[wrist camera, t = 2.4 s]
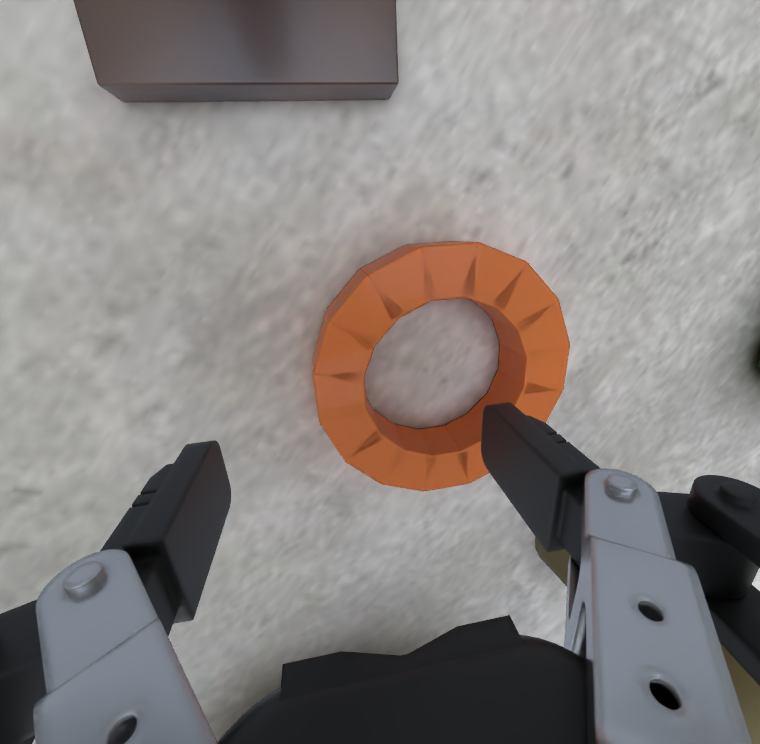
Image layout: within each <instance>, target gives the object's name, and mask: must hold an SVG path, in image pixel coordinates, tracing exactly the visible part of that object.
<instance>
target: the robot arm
mask: <svg viewBox="0 0 760 744" xmlns="http://www.w3.org/2000/svg"><path fill="white" fill-rule="evenodd" d="M481 455H482V459H483V462H484V464H485V466H486V468H487V470H488V471H489V472H490V474H491V475H492V476H493V478H494V479H495V481H496V482H497V483H498V485H499V486H500V488H501V489H502V490H503V492H504V493H505V494H506V496H507V497H508V499H509V500H510V501H511V503H512V504H513V506H514V507H515V508H516V510H517V511H518V513H519V514H520V515H521V517H522V518H523V519H524V521H525V522H526V524H527V525H528V526H529V528H530V529H531V531H532V532H533V533H534V535H535V536H536V537H537V539H538V540H539V542H540V543H541V544H542V546H543V547H544V549H545V550H546V551H547V553H548V552H553V551H558V550H563V549H565V550H566V551H567V552H568V553H569V555H570V558H569V563H568V579H567V603H566V626H565V640H564V647H562V646H559V645H557V644H555V643H552V642H549V641H546V640H543V639H540V638H535V637H530V636H525V635H519V633H518V631H517V629H516V627H515V625H514V623H513V621H512V619H511V617H510V615H508V616H504V617H499V618H494V619H490V620H485V621H481V622H476V623H471V624H467V625H462V626H457V627H456V628H454V629H452V630H450V631H448V632H447V633H445V634H443V635H441V636H439V637H438V638H436V639H434V640H432V641H431V642H429V643H427V644H425V645H423V646H422V647H420V648H418V649H416V650H414V651H413V652H411V653H409V654H407V655H402V656H396V655H383V654H369V653H356V652H343V651H342V652H337V653H333V654H328V655H323V656H319V657H314V658H309V659H305V660H300V661H296V662H291V663H286V664H283V668H282V680H281V688H279V689H277V690H276V691H274V692H272V693H271V694H269V695H268V696H266V697H265V698H263V699H262V700H261V701H259V702H258V703H256V704H255V705H254V706H253V707H252V708H250V709H249V710H248V711H247V712H246V713H245V714H243V715H242V716H241V717H240V718H239V719H238V720H237V721H236V722H235V723H234V724H233V726H232V727H231V728H230V729H229V730H228V731H227V732H226V733H225V734H224V735H223V737H222V738H221V739H220V740H219V742H218V743H217V741H216V739H215V737H214V735H213V733H212V730H211V728H210V726H209V724H208V722H207V720H206V718H205V715H204V713H203V711H202V709H201V707H200V705H199V703H198V700H197V698H196V696H195V694H194V692H193V690H192V688H191V685H190V683H189V681H188V679H187V677H186V675H185V672H184V670H183V668H182V666H181V664H180V662H179V660H178V657H177V655H176V653H175V651H174V649H173V647H172V645H171V642H170V640H169V638H168V636H169V633H170V630H171V628H172V625H173V624H174V623H179V622H184V621H190V620H193V619H194V616H195V613H196V610H197V607H198V603H199V600H200V597H201V594H202V591H203V588H204V585H205V582H206V579H207V576H208V573H209V570H210V566H211V563H212V560H213V557H214V554H215V551H216V548H217V545H218V542H219V539H220V536H221V532H222V529H223V526H224V523H225V520H226V517H227V514H228V511H229V508H230V503H231V488H230V483H229V479H228V475H227V471H226V468H225V464H224V460H223V457H222V453H221V449H220V446H219V444H218V442H217V441H207V442H200V443H192V444H187V445H186V446H185V447H184V448H183V450H182V452H181V453H180V455H179V456H178V458H177V460H176V461H175V463H174V464H169V465H166V466H165V467H164V468H162V469H161V470H160V471H159V472H157V473H156V474H155V475H154V476H152V477H151V478H150V479H149V481H148V482H147V484H146V485H145V487H144V488H143V490H142V491H141V495H138V497H137V498H136V500H135V501H134V503H133V504H132V508H129V510H128V511H127V513H126V514H125V516H124V517H123V519H122V520H121V522H120V523H119V524H118V526H117V527H116V529H115V530H114V532H113V533H112V535H111V536H110V538H109V539H108V540H107V542H106V543H105V545H104V546H103V548H102V549H101V551H100V552H96V553H93V554H91V555H88V556H86V557H84V558H82V559H80V560H78V561H76V562H75V563H73V564H71V565H70V566H68V567H67V568H65V569H64V570H63V571H61V572H60V573H59V574H58V575H56V576H55V577H54V578H53V579H52V580H51V581H50V582H49V583H48V584H47V585H46V587H45V588H44V589H43V591H42V592H41V594H40V595H39V597H38V599H37V600H35V601H32V602H30V603H27V604H25V605H22V606H20V607H17V608H15V609H12V610H9V611H7V612H4V613H2V614H0V744H32V743H33V741H34V739H35V742H36V744H752V741H751V738H750V735H749V732H748V729H747V726H746V723H745V720H744V717H743V713H742V710H741V707H740V704H739V701H738V698H737V695H736V692H735V689H734V686H733V682H732V679H731V676H730V673H729V670H728V667H727V664H726V661H725V658H724V654H723V651H722V648H721V645H722V646H723V647H724V648H725V649H726V650H727V651H728V652H729V653H730V654H731V655H732V657H733V658H734V659H735V660H736V661H737V662H738V663H739V664H740V665H741V666H742V667H743V668H744V669H745V671H746V672H747V673H748V674H749V675H750V676H751V677H752V678H753V679H754V680H755V681H756V682H757V684H758V685H759V686H760V591H759V590H757V589H756V588H755V587H754V586H753V585H752V582H753V580H754V578H755V576H756V573H757V571H758V569H759V568H760V489H759V488H757V487H755V486H753V485H750V484H748V483H745V482H743V481H740V480H736V479H733V478H729V477H724V476H717V475H705V476H700V477H698V478H696V479H695V480H694V483H693V485H692V488H691V491H690V494H682V493H668V492H656V490H655V489H654V488H653V487H652V486H651V485H650V484H648V483H647V482H646V481H644V480H642V479H641V478H639V477H637V476H635V475H632V474H630V473H627V472H624V471H620V470H615V469H600V468H599V467H598V466H597V465H596V464H594V463H593V462H592V461H591V460H590V459H588V458H587V457H586V456H585V455H583V454H582V453H581V452H580V451H579V450H577V449H576V448H575V447H574V446H573V445H571V444H570V443H569V442H566V440H565V439H564V438H563V437H562V436H561V435H559V434H557V432H556V431H555V430H553V429H552V428H551V427H550V426H549V425H547V424H546V423H545V422H543V421H540V420H538V419H536V418H534V417H532V416H529V415H527V416H526V415H525V414H524V413H523V412H521V411H520V410H519V409H518V408H517V407H516V406H514V405H513V404H512V403H510V402H507V403H499V404H491V405H486V406H485V407H484V409H483V419H482V436H481ZM720 644H721V645H720Z"/></svg>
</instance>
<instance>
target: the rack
mask: <svg viewBox="0 0 760 744" xmlns="http://www.w3.org/2000/svg"><path fill="white" fill-rule="evenodd" d="M74 4H75V7H76V11H77V14H78V17H79V21H80V24H81V28H82V31H83V35H84V38H85V42H86V45H87V49H88V52H89V55H90V59H91V62H92V66H93V69H94V73H95V76H96V80H97V83H98V84H99V85H100V86H101V87H102V88H104V89H105V90H107V91H108V92H110V93H111V94H112V95H114V96H115V97H117V98H118V99H120V100H121V101H123V102H171V101H274V100H377V99H390V97H391V95H392V93H393V92H394V90H395V88H396V86H397V84H398V54H397V23H396V0H74Z"/></svg>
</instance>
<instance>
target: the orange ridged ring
mask: <svg viewBox="0 0 760 744" xmlns="http://www.w3.org/2000/svg"><path fill="white" fill-rule="evenodd" d="M465 297H466V298H469V299H471V300H474V301H475V302H476V303H477V304H478V305H479V306H480V307H481V308H482V309H483V310H484V311H485V312H486V313H487V314H488V315H489V316H490V317H491V318H492V321H493V323H494V326H495V329H496V332H497V335H498V338H499V341H500V351H499V365H498V371H497V373H496V375H495V377H494V380H493V382H492V384H491V386H490V388H489V390H488V393H487V394H486V395H485V396H484V397H483V398H482V399H481V400H480V401H479V402H478V403H477V404H476V405H475V406H474V407H473V408H472V409H471V410H470V411H469V413H468V414H466V415H464V416H462V417H460V418H458V419H456V420H454V421H452V422H450V423H448V424H446V425H444V426H439V427H432V428H425V429H414V428H410V427H405V426H401V425H396V424H393V423H392V422H390V421H389V420H388V419H386V418H385V417H383V416H382V415H381V414H379V413H378V412H376V411H375V410H374V409H373V408H372V407H371V405H370V403H369V401H368V400H367V398H366V393H365V381H364V376H365V373H366V370H367V367H368V364H369V361H370V359H371V356H372V353H373V350H374V347H375V345H376V344H377V343H378V341H379V340H380V339H381V338H382V337H383V336H384V334H385V333H386V332H387V331H388V330H389V329H390V328H391V326H392V325H393V324H394V323H395V322H396V321H397V319H398V318H399V317H401V316H403V315H405V314H407V313H409V312H411V311H413V310H415V309H416V308H418V307H420V306H422V305H424V304H426V303H428V302H430V301H433V300H444V299H454V298H465ZM569 348H570V342H569V339H568V335H567V331H566V327H565V323H564V319H563V315H562V311H561V307H560V303H559V300H558V298H557V297H556V295H555V294H554V293H553V292H552V291H551V290H550V288H549V287H548V286H547V285H546V284H545V283H544V281H543V280H542V279H541V278H540V277H539V275H538V274H537V273H536V272H535V271H534V270H533V268H532V267H531V266H530V265H529V264H528V263H527V262H526V261H524V260H521V259H519V258H517V257H514V256H512V255H509V254H507V253H504V252H502V251H499V250H497V249H494V248H492V247H489V246H487V245H484V244H482V243H479V242H461V241H449V242H434V243H420V244H407V245H404V246H402V247H400V248H398V249H396V250H394V251H392V252H390V253H388V254H387V255H385V256H383V257H381V258H379V259H377V260H375V261H373V262H371V263H369V264H368V265H366V266H364V267H362V268H360V270H358V271H357V272H356V273H355V275H354V276H353V277H352V278H351V279H350V281H349V282H348V283H347V284H346V286H345V287H344V288H343V289H342V290H341V292H340V293H339V294H338V295H337V297H336V298H335V299H334V300H333V301H332V303H331V304H330V305H329V306H328V308H327V310H326V312H325V315H324V319H323V322H322V326H321V329H320V332H319V336H318V339H317V343H316V346H315V350H314V353H313V381H314V388H315V395H316V402H317V409H318V416H319V422H320V425H321V426H322V428H323V429H324V431H325V432H326V434H327V435H328V437H329V438H330V440H331V441H332V443H333V444H334V446H335V447H336V449H337V450H338V452H339V453H340V455H341V456H342V458H343V459H344V460H345V462H347V463H348V464H350V465H351V466H353V467H355V468H356V469H358V470H359V471H361V472H363V473H364V474H366V475H367V476H369V477H371V478H372V479H374V480H375V481H377V482H379V483H380V484H384V485H389V486H395V487H401V488H407V489H413V490H419V491H429V490H435V489H441V488H447V487H452V486H458V485H464V484H467V483H471V482H473V481H475V480H476V479H478V478H480V477H482V476H484V475H486V474H488V473H490V472H489V471H488V470H487V468H486V466H485V464H484V462H483V459H482V455H481V436H482V419H483V409H484V407H485V406H486V405H491V404H499V403H507V402H510V403H512V404H513V405H514V406H516V407H517V408H518V409H519V410H520V411H521V412H523V413H524V414H525V415H526V416H527V415H529V416H532V417H534V418H536V419H538V420H540V421H543V422H545V423H546V421H547V419H548V417H549V415H550V413H551V411H552V410H553V408H554V406H555V404H556V402H557V400H558V398H559V396H560V395H561V393H562V390H563V388H564V381H565V375H566V368H567V361H568V354H569Z"/></svg>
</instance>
